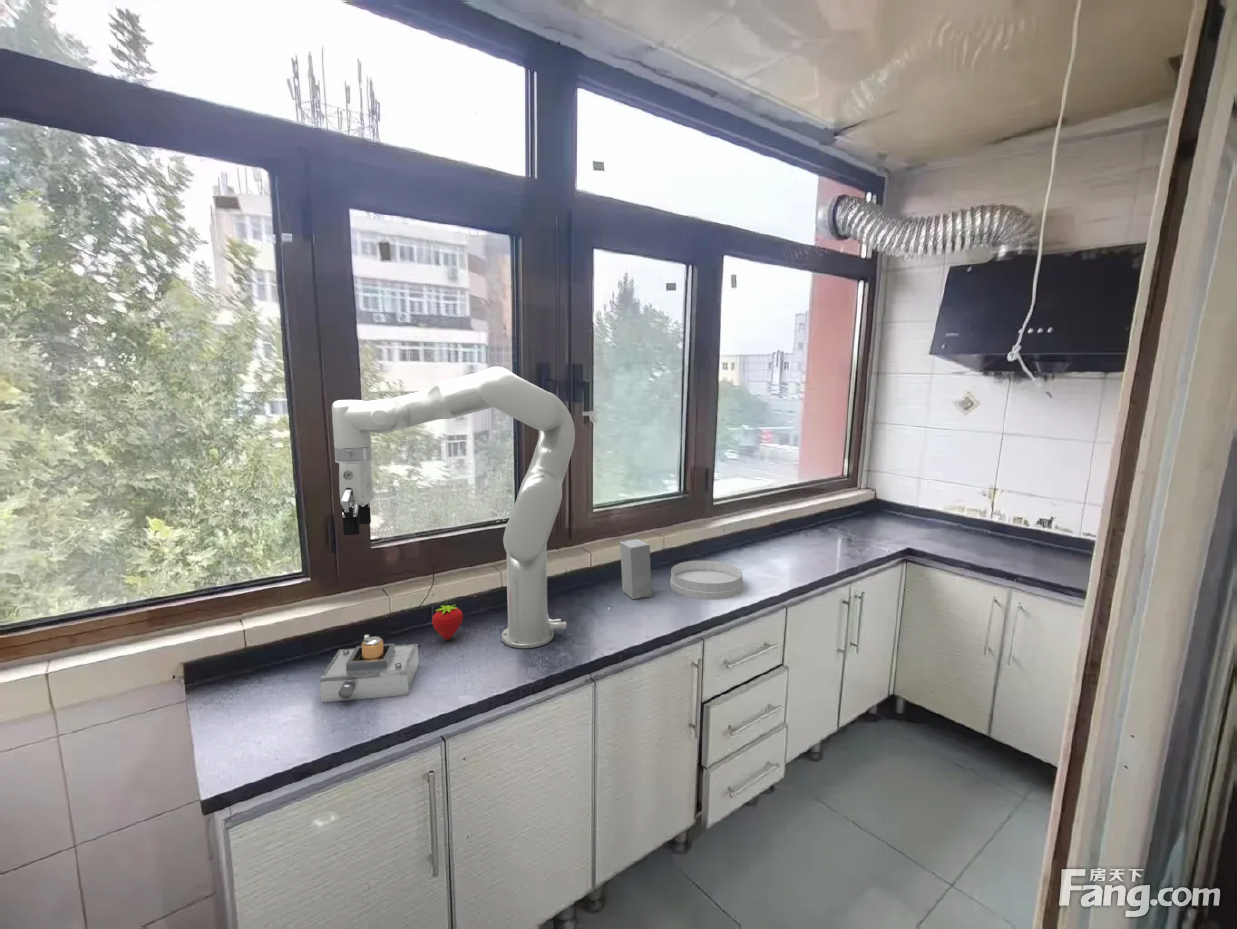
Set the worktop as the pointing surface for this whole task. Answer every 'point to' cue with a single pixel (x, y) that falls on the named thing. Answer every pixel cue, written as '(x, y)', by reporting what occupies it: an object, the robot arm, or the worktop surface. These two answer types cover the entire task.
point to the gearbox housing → (369, 674)
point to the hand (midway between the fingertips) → (358, 529)
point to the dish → (706, 579)
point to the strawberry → (447, 620)
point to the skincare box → (636, 568)
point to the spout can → (372, 648)
